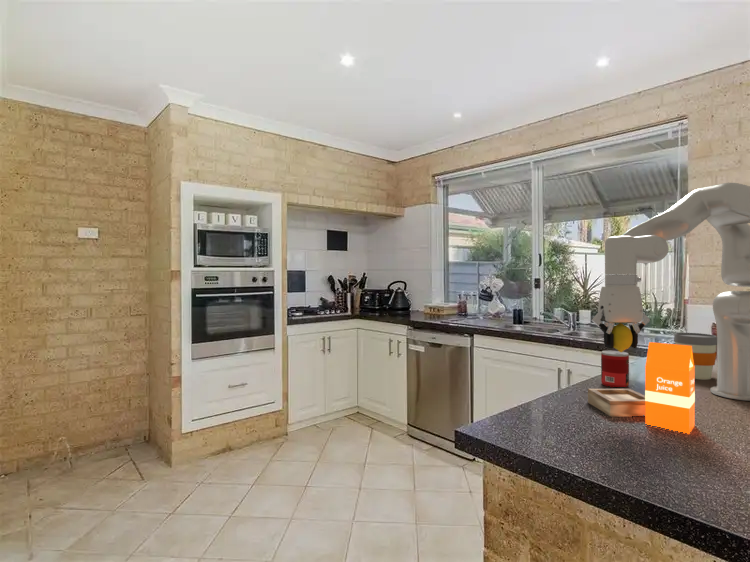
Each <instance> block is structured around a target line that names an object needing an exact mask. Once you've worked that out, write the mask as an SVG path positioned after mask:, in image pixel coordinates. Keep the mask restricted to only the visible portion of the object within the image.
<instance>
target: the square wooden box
mask: <svg viewBox="0 0 750 562" xmlns="http://www.w3.org/2000/svg"><path fill="white" fill-rule="evenodd" d="M587 403H588V404H590V405H591V406H592V407H594V408H596V409H598V410H599V411H601V412H603V413H604V414H606V415H607V416H609V417H632V416H643V415H644V416H645V394H642V393H640V392H639V391H636V390H633V389H632V388H587Z"/></svg>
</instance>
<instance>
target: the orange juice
mask: <svg viewBox="0 0 750 562" xmlns="http://www.w3.org/2000/svg"><path fill="white" fill-rule="evenodd" d="M645 360H646V361H645V366H644V367H645V368H644V370H645V371H644V372H645V374H644V375H645V380H644V382H645V384H644V388H645V389H644V395H645V417H644V420H645V423H644V424H647V425H651V426H650V427H652V426H657V427H661V428H665V429H664V430H666V429H669V430H668V431H671V430H673V431H672V432H675V431H678V432H677V433H680V432H683V433H682V434H685V433H687V434H686V435H690V434H691V433H692V431H693V429H694V428H695V424H696V421H695V419H696V418H695V415H696V414H695V413H696V412H695V409H696V408H695V407H696V406H695V402H696V394H695V393H696V391H695V383H696V382H695V380H696V379H695V366H694V361H693V353H692V346H688V345H677V344H675V343H664V342H663V343H662V342H654V341H653V342H652V341H649V342H648V348H647V353H646V359H645ZM647 425H646V426H647ZM657 427H656V428H657ZM661 428H660V429H661ZM690 432H691V433H690Z"/></svg>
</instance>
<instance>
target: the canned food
mask: <svg viewBox="0 0 750 562" xmlns="http://www.w3.org/2000/svg"><path fill="white" fill-rule="evenodd" d="M600 358H601V359H600V362H601V364H600V370H601V375H600V376H601V377H600V378H601V385H603V386H604V387H608V386H610V387H609V388H613V387H627V386H628V387H629V385H630V354H629V353H628V352H626V351H623V352H619V351H618V350H602V351H601V354H600ZM628 387H627V388H628Z"/></svg>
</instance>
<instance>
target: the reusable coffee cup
mask: <svg viewBox="0 0 750 562" xmlns="http://www.w3.org/2000/svg"><path fill="white" fill-rule="evenodd" d="M673 342H674V344H677V345H688V346H692V353H693V361H694V366H695V380H711V379H712V374H713V369H714V366H715V365H716V361H717V335H714V334H708V333H701V332H700V333H698V332H675V333H674V336H673Z"/></svg>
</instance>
